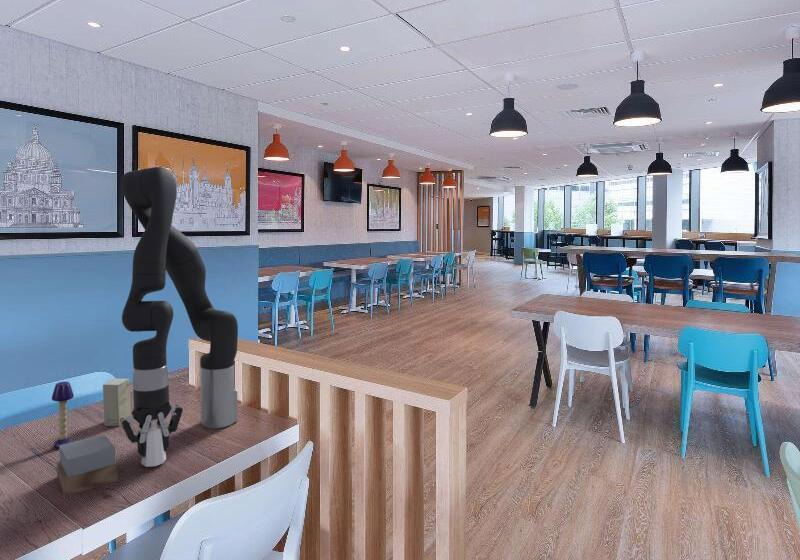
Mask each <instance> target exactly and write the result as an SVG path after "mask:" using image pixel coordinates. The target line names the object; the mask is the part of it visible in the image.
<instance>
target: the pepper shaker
mask: <svg viewBox="0 0 800 560" xmlns="http://www.w3.org/2000/svg"><path fill="white" fill-rule="evenodd" d="M157 421H158V419H154V420H151V427H150V428H149V429H148V433H147V434H146V438H145V442H146V457H142V456H141V463H140V464H141V465H143V466H144V467H145V468H146V467H147V468H148V467H149V468H150V467H157V466H160V465H162V464H164V463H165V461H166V459H167V453H166V451H164V447H163V434H162V429H161V427H160V426H159V425H158V424H157Z"/></svg>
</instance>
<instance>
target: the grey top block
mask: <svg viewBox="0 0 800 560" xmlns="http://www.w3.org/2000/svg"><path fill="white" fill-rule="evenodd" d="M58 450H59V451H58V452H59V461H60V463H61V465H62V467H63V469H64V471H65V472H66V474H67V476H68V478H70V477H73V476H77V475H80V474H84V473H87V472H91V471H94V470H98V469H101V468H105V467H108V466H112V465H115V464H116V465H117V463H116V462H117V461H116V447H115V446H114V444H113V443H112V442H111V441H110V439H109V438H108V437H107V436H106V434H100V435H96V436H93V437H88V438H83V439H80V440H77V441H76V440H75V441H73V442H71V443H67V444H63V445H59V449H58Z"/></svg>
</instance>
